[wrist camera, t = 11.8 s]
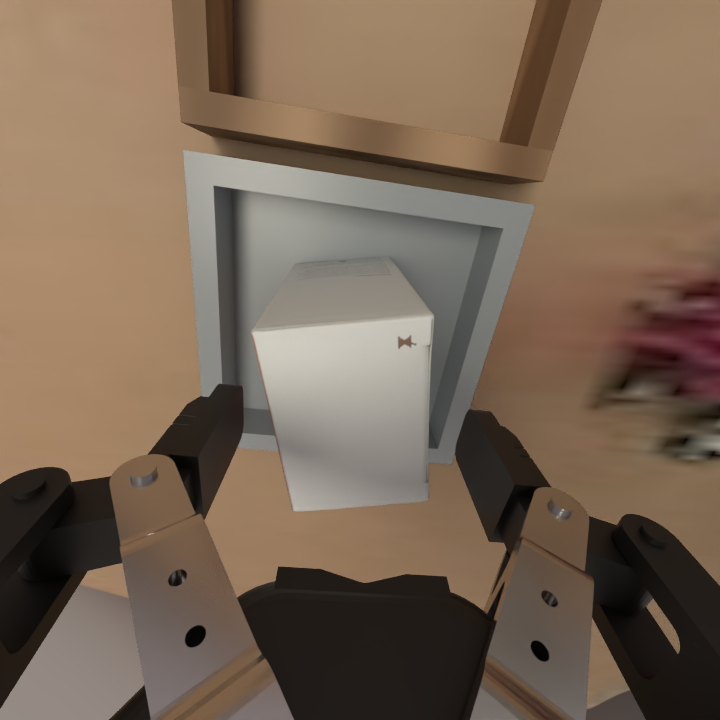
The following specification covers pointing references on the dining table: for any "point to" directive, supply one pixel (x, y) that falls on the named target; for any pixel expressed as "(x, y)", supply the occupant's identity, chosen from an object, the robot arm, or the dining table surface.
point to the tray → (344, 242)
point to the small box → (348, 383)
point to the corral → (382, 139)
